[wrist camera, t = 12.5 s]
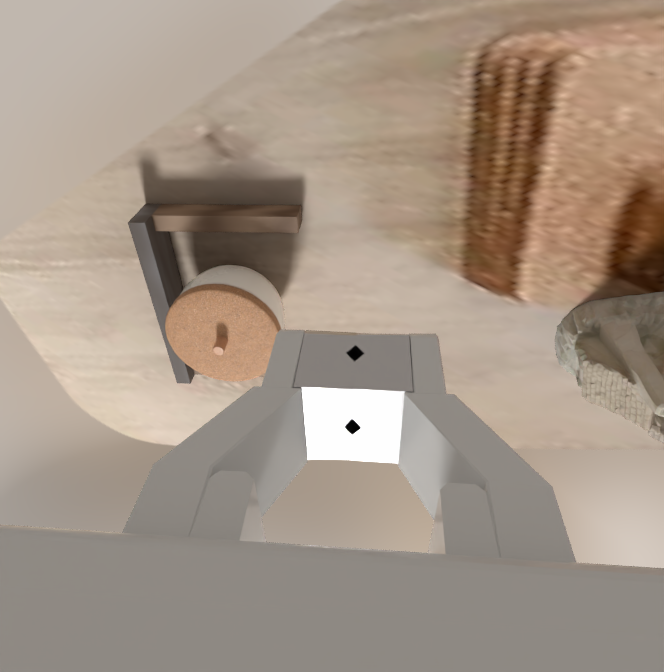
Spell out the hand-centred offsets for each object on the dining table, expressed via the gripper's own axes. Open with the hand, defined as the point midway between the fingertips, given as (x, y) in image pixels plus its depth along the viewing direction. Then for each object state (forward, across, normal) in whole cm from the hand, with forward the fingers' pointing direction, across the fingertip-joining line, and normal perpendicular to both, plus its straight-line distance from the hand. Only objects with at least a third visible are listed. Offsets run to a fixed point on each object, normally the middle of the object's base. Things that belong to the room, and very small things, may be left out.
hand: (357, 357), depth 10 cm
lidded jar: (+34, +13, +21) cm, 42 cm away
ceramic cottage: (+34, -28, +27) cm, 52 cm away
